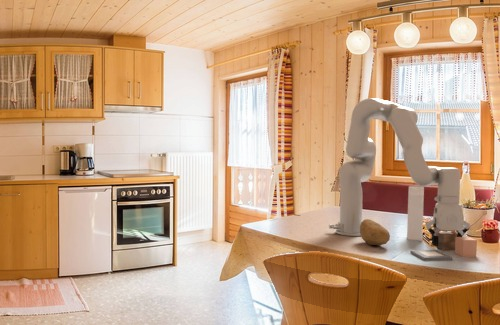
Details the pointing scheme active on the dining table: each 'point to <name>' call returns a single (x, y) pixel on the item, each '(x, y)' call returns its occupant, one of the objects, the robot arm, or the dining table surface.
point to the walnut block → (446, 241)
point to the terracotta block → (465, 246)
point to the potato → (373, 233)
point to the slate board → (430, 255)
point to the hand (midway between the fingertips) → (446, 245)
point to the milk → (415, 213)
